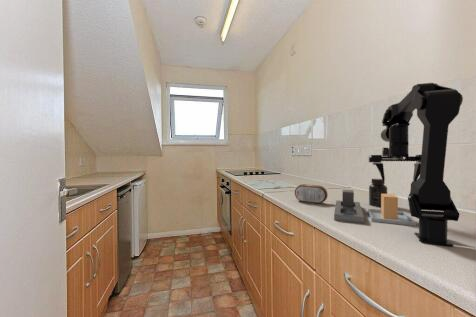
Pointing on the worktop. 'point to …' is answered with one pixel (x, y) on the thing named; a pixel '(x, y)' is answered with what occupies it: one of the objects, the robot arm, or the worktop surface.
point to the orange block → (389, 206)
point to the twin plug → (348, 198)
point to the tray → (402, 219)
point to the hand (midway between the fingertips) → (398, 182)
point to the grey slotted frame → (348, 213)
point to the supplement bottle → (376, 192)
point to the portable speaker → (311, 193)
